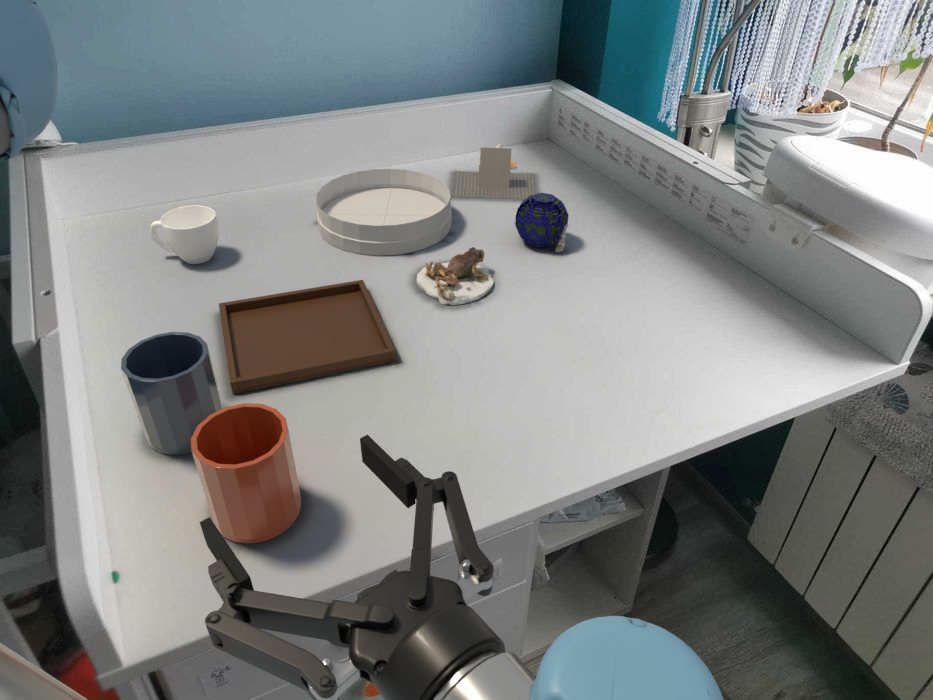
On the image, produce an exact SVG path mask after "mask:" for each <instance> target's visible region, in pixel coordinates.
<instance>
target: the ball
mask: <svg viewBox="0 0 933 700" xmlns="http://www.w3.org/2000/svg"><path fill="white" fill-rule="evenodd" d="M522 200H523V201H521V202H520V204H519V206H518V207H517V210H516V214H515V219H514V221H515V223H514V226H515V228H516V230H517V233H518V235H519V238H521V240H523V241H524V242H525V243H527V244H528V245H530V246H531V247H538V248H546V247H549V246H553V245H554V244H556V243H557V244H556V247H555V250H554V252H557V253H560V252H564V248H565V246H566V238H567V233H566V232H567V228H568V227H569V224H568V222H569V216H570V215H569V212H568V209H567V207H566V205H565V202H563V200H560V198H559V197H556V195H554V194H552V193H546V192H540V193H539V192H538V193H535V195H530V197H528V198H527V199H522Z"/></svg>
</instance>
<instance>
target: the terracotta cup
mask: <svg viewBox="0 0 933 700" xmlns="http://www.w3.org/2000/svg"><path fill="white" fill-rule="evenodd" d="M292 447H293V446H292V441H291V436H290V430H289V426H288V422H287V418H286V417H285V416H284V415H283V414H282V413H281V412H280V411H279V410H278V409H277V408H276V407H275V408H274V407H272V406H269V405H266V404H264V403H250V402H243V403H238V404H234V405H230V406H225V407H223V409H221V410H219V411H217V412H215V413H213V414H211V415H209V416H208V417H207V418H206V419H205V420H204V421H202V422H201V423H200V424H199V425H198V426H197V428H196V430H195V432H194V434H193V436H192V437H191V449H192V453H191V454H192V457H193V460H194V463H195V467H196V470H197V473H198V477H199V480H200V484H201V486H202V490H203V493H204V496H205V500H206V503H207V506H208V509H209V513H210V516H211V520H212V522H213V523H214V525H215V526H216V527H217V529H218V530H219V532H220V533H221V535H222V536H223V538H224V539H227V540H229V541H231V542H235V543H239V544H258V543H263V542H267V541H269V540H272V539H274V538H276V537H279V536H280V535H282V534H283V533H284V532H286V531H287V530H288V529H289V528H290V527H291V526H292V525H293V524H294V523H295V522H296V520H297V518H298V517H299V515H300V512H301V509H302V496H301V495H302V494H301V491H300V485H299V480H298V479H299V478H298V474H297V469H296V462H295V458H294V457H295V456H294V452H293V448H292Z"/></svg>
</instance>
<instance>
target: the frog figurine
mask: <svg viewBox="0 0 933 700" xmlns="http://www.w3.org/2000/svg"><path fill="white" fill-rule="evenodd" d="M484 257H485V251H484V250H483V249H477V248H476V247H474V246H473V247H470V248H468V250H467V251H465V252H464V253H462V254H460V253H459V254H455V255H454V256H452V258H451V259H450V261H447V262H442V263H441V262H436V263H434V261H431V262H430V263H429V264H428V263H427V262H426V263H425V266H424V267H422V268H421V269H420V271H419V272H418V273H417V274H416V278H415V279H416V280H415V281H416V282H415V283H416V285H417V288H418V289H419V291H421V292H423V293H424V294H425V295H427V296H429V297H431V298H433V299H436V300H438V303H439V304H441V305H442V306H443V305H444V306H447V305H450V306H460V305H464V304H465V305H466V304H469V303H471V302H476V301H478V300H481V299H482V298H483V297H484V296H487V294H489V293H490V292H491V291H492V288H493V285H494V281H495V280H494V278H492V277H493V275H492V274H491V273H490V270H488V269H487V268H486V267H484V266H481V265H480V264H479V263H483V261H484Z"/></svg>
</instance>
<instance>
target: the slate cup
mask: <svg viewBox="0 0 933 700" xmlns="http://www.w3.org/2000/svg"><path fill="white" fill-rule="evenodd" d="M120 361H121V362H120V370H121V372H122V376H123V378H124V380H125V384H126V387H127V390H128V392H129V395H130V398H131V401H132V403H133V407H134V410H135V412H136V414H137V418H138V421H139V423H140V426H141V429H142V431H143V434H144V438H145V439H146V440H147V443H148V444H149V445H148V446H150V447H151V448H152V449H153V450H154V451H157V452H158V453H161V454H164V455H171V456H181V455H187V454H192V449H191V437H192V436H193V434H194V432H195V430H196V428H197V426H198V425H199V424H200V423H201V422H202V421H204V420H205V419H206V418H207V417H208V416H209V415H211V414H213V413H215V412H217V411H219V410H221V409H223V408H224V404H223V401H222V397H221V393H220V389H219V385H218V381H217V377H216V374H215V369H214V366H213V362H212V357H211V354H210V349H209V345H208V343H207V342H206V341H205V340H204V339H203V338H202V337H201V336H199V335H197V334H193V333H191V332H187V331H185V332H183V331H170V332H164V333H157V334H155V335H152V336H148V337H147V338H144V339H141V340H140V341H138V342H137V343H135V344H134V345H132V346H131V347H129V348H128V349H127V350H126V352H125V353H124V355H123V356H122V357H121V360H120Z"/></svg>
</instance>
